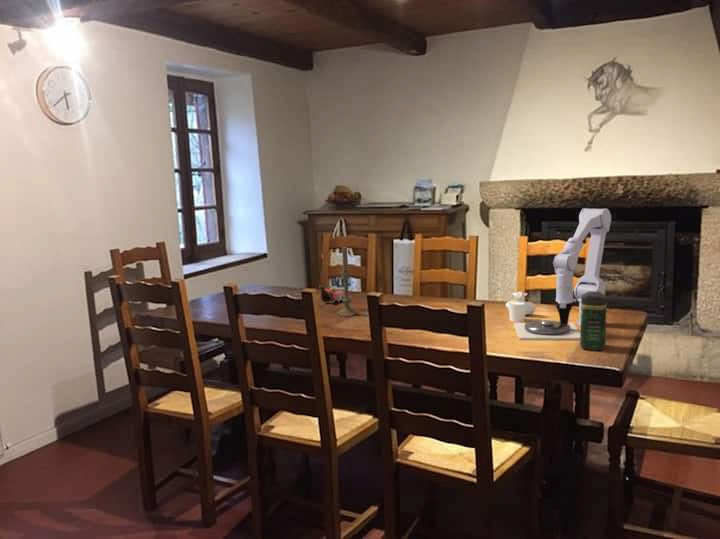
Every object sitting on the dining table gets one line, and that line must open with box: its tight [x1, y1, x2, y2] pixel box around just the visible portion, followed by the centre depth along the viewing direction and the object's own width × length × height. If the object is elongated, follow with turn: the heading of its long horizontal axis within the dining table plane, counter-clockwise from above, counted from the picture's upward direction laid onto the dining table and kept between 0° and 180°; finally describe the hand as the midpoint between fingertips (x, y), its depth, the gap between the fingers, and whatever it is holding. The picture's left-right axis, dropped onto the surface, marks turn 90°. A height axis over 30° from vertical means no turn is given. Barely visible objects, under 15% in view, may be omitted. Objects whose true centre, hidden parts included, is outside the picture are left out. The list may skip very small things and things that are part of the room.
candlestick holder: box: [337, 246, 357, 315], centre depth 268 cm, size 9×9×30 cm
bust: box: [505, 290, 536, 316], centre depth 255 cm, size 12×8×11 cm
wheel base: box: [513, 322, 581, 341], centre depth 228 cm, size 22×22×1 cm
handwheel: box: [525, 319, 570, 334], centre depth 227 cm, size 16×16×4 cm
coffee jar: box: [579, 291, 607, 351], centre depth 205 cm, size 10×8×19 cm
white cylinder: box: [507, 301, 526, 323], centre depth 247 cm, size 7×7×7 cm
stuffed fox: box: [319, 285, 345, 303], centre depth 297 cm, size 8×11×12 cm
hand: (564, 323), depth 225 cm, fingers closed
